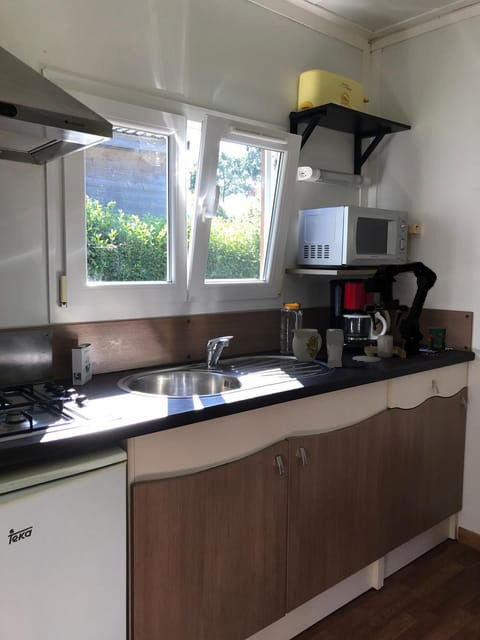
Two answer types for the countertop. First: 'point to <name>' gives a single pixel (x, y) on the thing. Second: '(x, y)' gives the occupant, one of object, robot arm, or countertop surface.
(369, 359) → the grey trivet
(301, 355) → the pitcher
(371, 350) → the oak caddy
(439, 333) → the canned tomato
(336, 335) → the beer glass
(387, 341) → the cream jug
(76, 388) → the countertop surface
